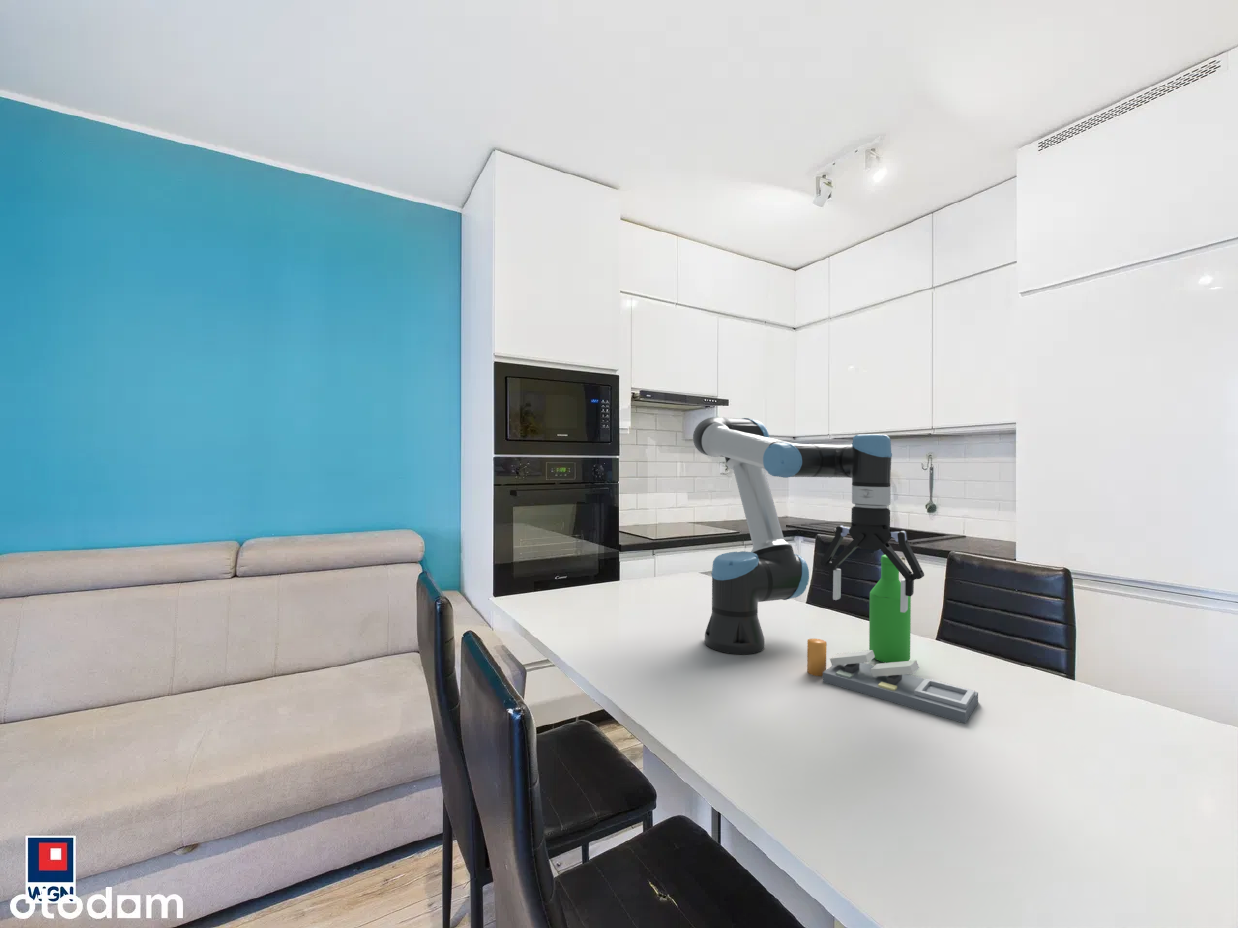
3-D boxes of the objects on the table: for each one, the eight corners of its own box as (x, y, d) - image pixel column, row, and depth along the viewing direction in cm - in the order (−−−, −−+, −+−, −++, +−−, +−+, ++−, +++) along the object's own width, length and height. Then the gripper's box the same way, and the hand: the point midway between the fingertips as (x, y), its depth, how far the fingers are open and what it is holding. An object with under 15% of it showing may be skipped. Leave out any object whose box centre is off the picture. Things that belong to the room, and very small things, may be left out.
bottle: (906, 668, 120) (907, 560, 120) (865, 659, 125) (866, 555, 125) (912, 657, 127) (913, 555, 127) (873, 649, 132) (874, 551, 132)
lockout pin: (804, 672, 117) (804, 641, 117) (811, 667, 120) (811, 637, 120) (821, 677, 114) (822, 645, 114) (829, 672, 117) (829, 641, 117)
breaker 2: (872, 676, 109) (870, 669, 109) (879, 670, 112) (877, 663, 112) (913, 673, 104) (910, 665, 104) (919, 667, 107) (916, 660, 107)
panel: (822, 681, 112) (822, 666, 112) (843, 666, 121) (843, 652, 121) (965, 723, 94) (965, 705, 94) (978, 702, 103) (978, 686, 103)
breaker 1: (832, 665, 115) (829, 658, 115) (839, 660, 118) (837, 653, 118) (868, 662, 109) (865, 654, 110) (875, 656, 113) (872, 649, 113)
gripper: (806, 503, 118) (805, 597, 118) (933, 511, 101) (931, 620, 101) (819, 501, 123) (817, 591, 123) (941, 509, 107) (939, 612, 107)
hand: (869, 604), depth 112 cm, fingers open, 13 cm apart
